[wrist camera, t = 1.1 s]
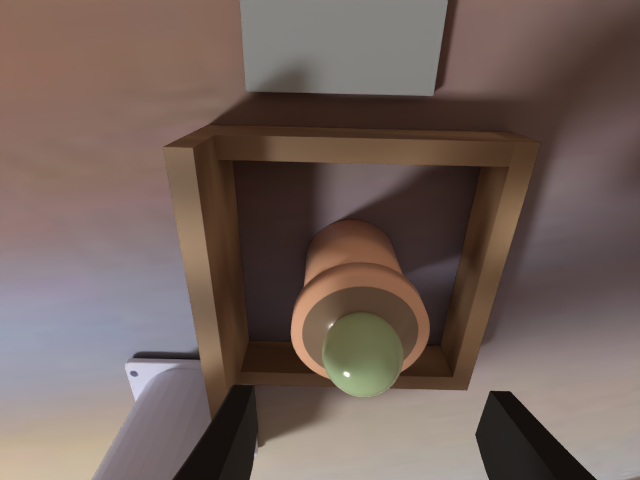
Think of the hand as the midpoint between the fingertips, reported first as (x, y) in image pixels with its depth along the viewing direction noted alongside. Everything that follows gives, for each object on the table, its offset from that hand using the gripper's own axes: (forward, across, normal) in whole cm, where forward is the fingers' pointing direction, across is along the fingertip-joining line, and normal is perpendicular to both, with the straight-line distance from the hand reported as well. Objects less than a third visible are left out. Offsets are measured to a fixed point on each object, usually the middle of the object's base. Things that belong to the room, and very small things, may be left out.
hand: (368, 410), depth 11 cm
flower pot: (+9, 0, 0) cm, 9 cm away
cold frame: (+9, 0, 0) cm, 9 cm away
